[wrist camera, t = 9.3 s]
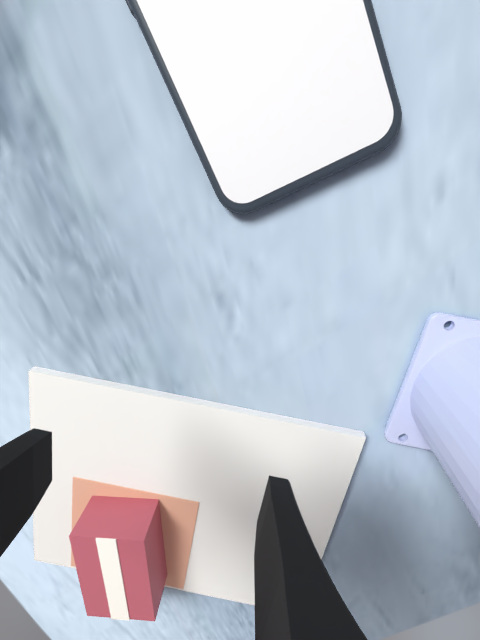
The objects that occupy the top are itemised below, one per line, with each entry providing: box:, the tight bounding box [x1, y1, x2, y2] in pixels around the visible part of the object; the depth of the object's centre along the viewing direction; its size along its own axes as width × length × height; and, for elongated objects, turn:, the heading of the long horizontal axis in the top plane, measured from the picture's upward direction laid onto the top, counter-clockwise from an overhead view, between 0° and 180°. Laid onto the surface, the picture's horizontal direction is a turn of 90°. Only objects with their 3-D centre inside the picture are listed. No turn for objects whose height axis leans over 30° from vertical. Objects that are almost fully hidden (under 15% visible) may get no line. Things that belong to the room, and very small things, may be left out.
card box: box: [69, 496, 167, 621], centre depth 24 cm, size 7×4×3 cm, turn 1°
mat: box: [29, 366, 366, 605], centre depth 24 cm, size 20×16×1 cm
